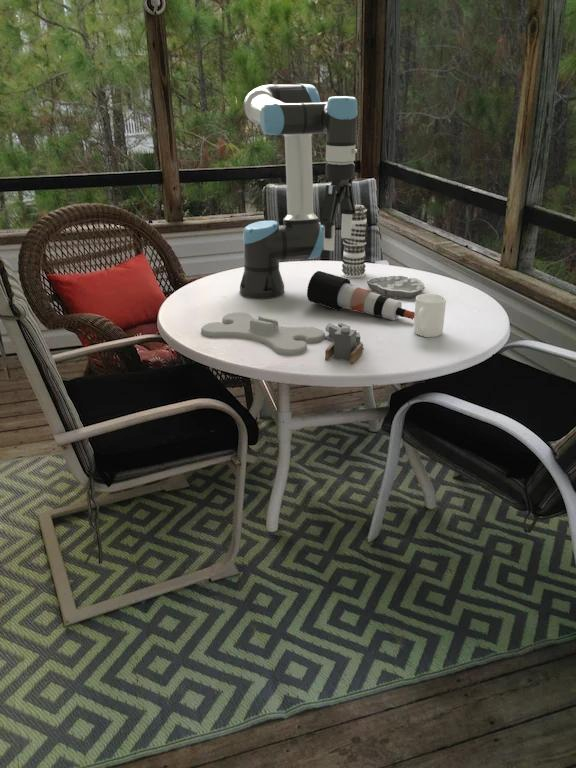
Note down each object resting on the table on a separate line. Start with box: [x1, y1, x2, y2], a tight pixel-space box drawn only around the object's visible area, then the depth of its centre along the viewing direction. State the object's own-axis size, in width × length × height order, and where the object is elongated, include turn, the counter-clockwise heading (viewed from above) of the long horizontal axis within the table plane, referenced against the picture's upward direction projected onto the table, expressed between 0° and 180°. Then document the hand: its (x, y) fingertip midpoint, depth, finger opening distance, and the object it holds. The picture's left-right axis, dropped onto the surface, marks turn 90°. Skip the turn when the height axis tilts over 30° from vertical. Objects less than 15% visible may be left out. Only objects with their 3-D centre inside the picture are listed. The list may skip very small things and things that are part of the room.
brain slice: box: [366, 275, 426, 300], centre depth 224 cm, size 20×17×3 cm
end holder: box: [324, 342, 364, 365], centre depth 172 cm, size 8×8×3 cm
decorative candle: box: [341, 203, 369, 279], centre depth 237 cm, size 9×9×25 cm
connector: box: [333, 325, 357, 362], centre depth 171 cm, size 4×4×8 cm
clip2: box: [356, 331, 364, 351], centre depth 178 cm, size 5×6×4 cm
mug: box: [413, 293, 447, 338], centre depth 185 cm, size 12×8×10 cm
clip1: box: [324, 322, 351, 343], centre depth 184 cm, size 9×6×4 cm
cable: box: [306, 270, 415, 321], centre depth 202 cm, size 10×34×10 cm, turn 57°
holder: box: [200, 312, 326, 356], centre depth 187 cm, size 19×34×5 cm, turn 58°
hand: (337, 243), depth 178 cm, fingers open, 13 cm apart
